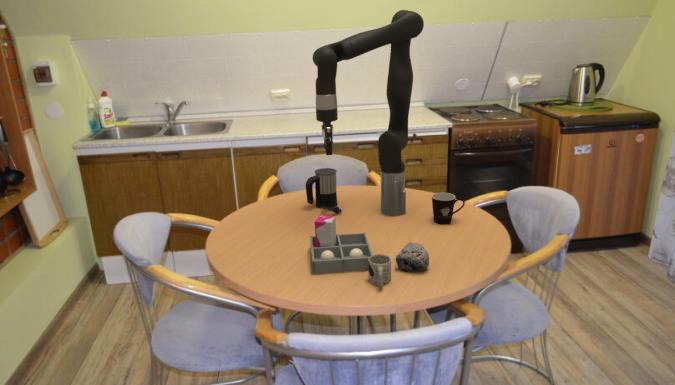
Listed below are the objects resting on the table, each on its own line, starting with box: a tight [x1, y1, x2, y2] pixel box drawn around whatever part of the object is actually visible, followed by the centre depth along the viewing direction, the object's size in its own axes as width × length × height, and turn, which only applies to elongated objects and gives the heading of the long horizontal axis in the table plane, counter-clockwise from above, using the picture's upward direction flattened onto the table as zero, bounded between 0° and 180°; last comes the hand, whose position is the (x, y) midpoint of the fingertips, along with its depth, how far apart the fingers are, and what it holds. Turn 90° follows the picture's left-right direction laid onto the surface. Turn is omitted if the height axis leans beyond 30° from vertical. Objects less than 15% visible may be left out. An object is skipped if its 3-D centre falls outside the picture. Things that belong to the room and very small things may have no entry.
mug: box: [367, 253, 392, 287], centre depth 151 cm, size 10×7×7 cm, turn 178°
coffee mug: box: [431, 192, 466, 226], centre depth 191 cm, size 12×9×10 cm
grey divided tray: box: [309, 232, 374, 275], centre depth 167 cm, size 19×19×4 cm
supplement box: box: [314, 215, 337, 248], centre depth 169 cm, size 6×6×12 cm
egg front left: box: [349, 248, 363, 258], centre depth 162 cm, size 4×4×4 cm
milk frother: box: [305, 167, 343, 214], centre depth 208 cm, size 14×16×15 cm
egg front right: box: [321, 250, 335, 260], centre depth 162 cm, size 4×4×4 cm
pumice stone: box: [395, 241, 430, 272], centre depth 159 cm, size 10×8×10 cm
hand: (328, 151), depth 185 cm, fingers open, 8 cm apart
